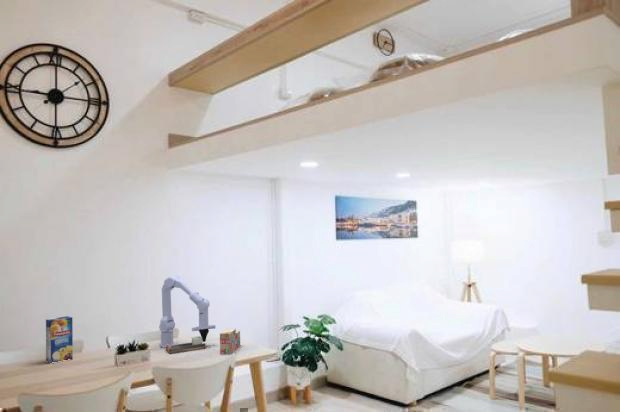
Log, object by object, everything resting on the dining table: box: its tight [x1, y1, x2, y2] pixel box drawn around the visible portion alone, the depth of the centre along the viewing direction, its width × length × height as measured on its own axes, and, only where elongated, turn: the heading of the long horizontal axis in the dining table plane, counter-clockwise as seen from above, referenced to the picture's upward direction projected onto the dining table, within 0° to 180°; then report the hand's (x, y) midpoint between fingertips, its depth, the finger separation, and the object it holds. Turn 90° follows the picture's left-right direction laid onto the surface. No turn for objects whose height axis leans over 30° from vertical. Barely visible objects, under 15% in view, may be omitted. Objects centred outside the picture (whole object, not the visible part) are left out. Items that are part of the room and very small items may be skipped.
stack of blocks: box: [219, 328, 241, 355], centre depth 294 cm, size 21×6×12 cm, turn 172°
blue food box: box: [45, 315, 74, 364], centre depth 280 cm, size 12×8×24 cm, turn 138°
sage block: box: [191, 335, 203, 345], centre depth 301 cm, size 5×5×5 cm
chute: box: [164, 342, 207, 355], centre depth 297 cm, size 12×22×4 cm, turn 120°
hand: (204, 341), depth 303 cm, fingers closed
